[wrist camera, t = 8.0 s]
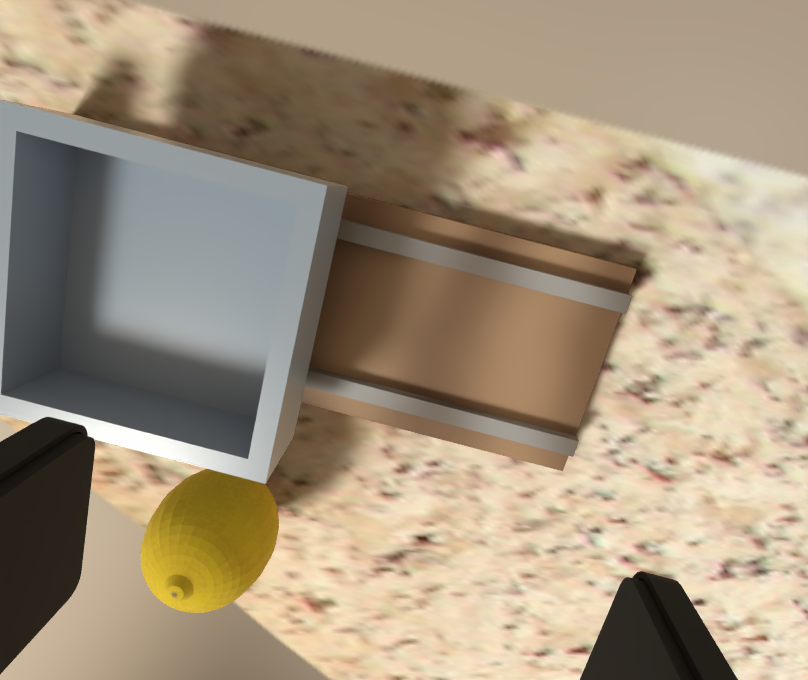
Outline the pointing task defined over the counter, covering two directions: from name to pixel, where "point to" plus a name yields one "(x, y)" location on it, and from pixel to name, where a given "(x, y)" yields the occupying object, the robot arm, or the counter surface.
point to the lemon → (209, 541)
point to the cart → (158, 289)
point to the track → (462, 331)
